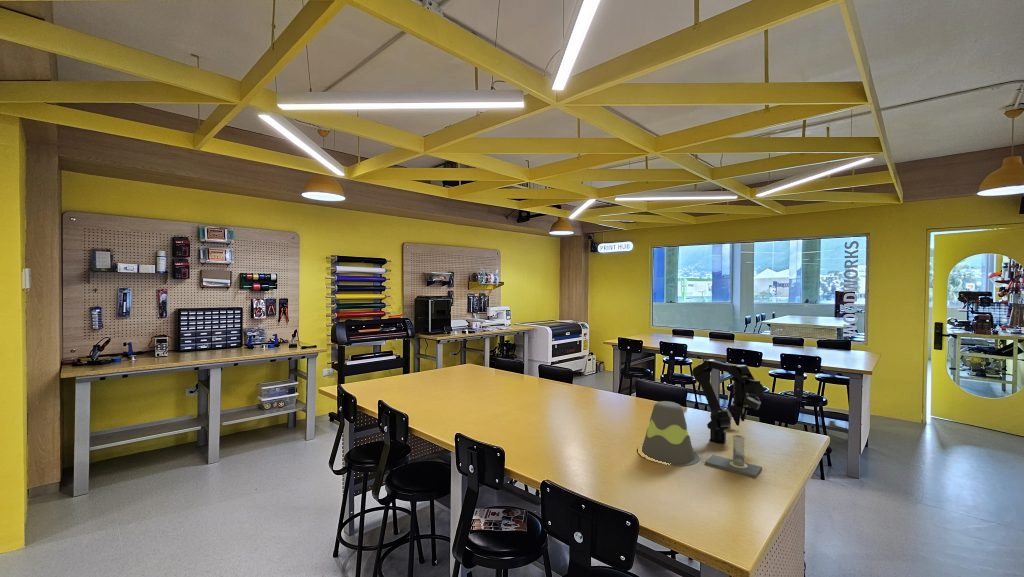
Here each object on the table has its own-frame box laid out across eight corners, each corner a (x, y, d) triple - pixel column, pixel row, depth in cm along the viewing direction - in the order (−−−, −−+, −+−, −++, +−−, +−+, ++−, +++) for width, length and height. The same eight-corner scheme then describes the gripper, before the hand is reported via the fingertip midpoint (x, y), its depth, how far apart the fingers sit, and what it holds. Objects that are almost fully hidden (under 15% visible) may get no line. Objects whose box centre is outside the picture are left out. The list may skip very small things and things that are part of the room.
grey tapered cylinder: (708, 453, 201) (708, 403, 201) (685, 472, 180) (686, 415, 180) (652, 439, 219) (652, 393, 220) (626, 454, 199) (626, 403, 199)
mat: (704, 464, 188) (704, 461, 188) (712, 457, 196) (712, 454, 196) (755, 477, 174) (755, 474, 175) (761, 469, 183) (761, 466, 183)
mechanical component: (739, 428, 237) (739, 410, 237) (720, 427, 239) (720, 409, 239) (738, 427, 240) (738, 409, 240) (718, 425, 242) (718, 408, 242)
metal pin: (730, 463, 185) (730, 436, 185) (736, 461, 188) (736, 434, 188) (741, 467, 182) (741, 439, 182) (746, 465, 184) (746, 437, 184)
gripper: (754, 397, 193) (754, 431, 193) (763, 390, 207) (763, 422, 207) (727, 393, 200) (727, 426, 200) (738, 386, 214) (738, 417, 214)
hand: (740, 423), depth 205 cm, fingers open, 9 cm apart
